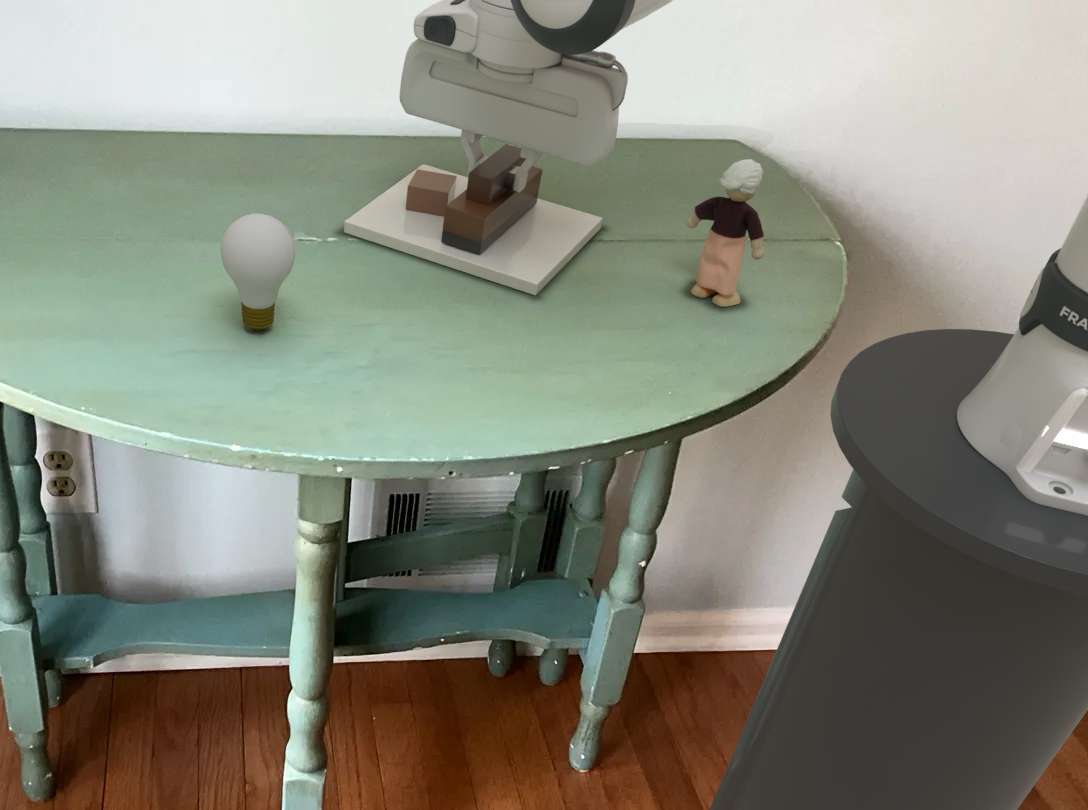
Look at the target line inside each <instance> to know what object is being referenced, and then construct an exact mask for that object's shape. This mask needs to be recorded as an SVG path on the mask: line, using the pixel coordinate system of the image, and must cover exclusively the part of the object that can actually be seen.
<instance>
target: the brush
mask: <svg viewBox="0 0 1088 810" xmlns="http://www.w3.org/2000/svg"><path fill="white" fill-rule="evenodd" d="M521 148H522V147H519V146H515V145H512V144H509V143H505V144H503V146H501V147H500V148H499V149H497V150H496V151H495V152H493V153H492V154H491V155H490V156H488V157H489V158H487V159H486V160H485V161H483V162H482V163H481V164H480V165H478V166H477V167H476V168H475V169H473V170H472V171H471V172H469V176H468V175H467V177H468V184H467V189H466V190H465V191H464V192H463V193H461V194H460V195H459V196H458V197H456V198H455V199H454V200H453V201H451V202H450V203H449V204H448V205H446V206H445V214H444V223H443V231H442V240H441V242H442V243H446V244H449V245H452V246H455V247H458V248H461V249H464V250H467V251H470V252H473V253H476V254H479V255H480V254H481V253H482V252H483V251H484V250H485V249H486V248H488V247H489V246H490V245H491V244H492V243H493V242H494V241H495V240H497V239H498V238H499V237H500V236H501V235H502V234H503V233H504V232H505V231H507V230H508V229H509V228H510V227H511V226H512V225H513V224H514V223H515V222H517V221H518V220H519V219H520V218H521V217H522V216H523V215H524V214H525V213H527V212H528V211H529V210H530V209H531V208H532V207H533V206H534V205H535V204H536V203H537V198H538V197H539V192H540V186H541V181H542V175H543V168H540V167H537V166H534V165H533V166H532V167H531V169H530V170H528V176H527V182H526V185H525V188H524V189H523V190H522V191H521V192H516V191H512V190H509V189H506V188H505V182H506V174H507V171H508V170H510V169H511V168H512V167H513V166H514V165H516V166H521V165H522V164H523V162H524V161H525V160H526V158H525V159H524V158H521V156H520V155H521ZM538 199H539V198H538Z"/></svg>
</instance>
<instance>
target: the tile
mask: <svg viewBox="0 0 1088 810" xmlns="http://www.w3.org/2000/svg"><path fill="white" fill-rule="evenodd" d="M417 169H419V170H425V171H430V172H436V173H442V174H448V175H454V176H457V179H456V188H455V196H454V199H455V198H456V197H458V196H459V195H460V194H461V193H463V192H464V191H465V190H466V189H467V184H468V176H464V175H461V174H458V173H454V172H451V171H449V170H448V171H447V170H444V169H442V168H438V167H434V166H431V165H428V164H426V163H423V164H421V165H420V166H418V167H417V168H416V169H414V170H412V172H410V173H409V174H407V175H406V176H405V177H403V178H402V179H400V180H399V181H398V182H396V183H395V184H393V185H392V186H391V187H389V188H388V189H387V190H385V191H383V193H381V194H379V196H377V197H376V198H374V199H373V200H372V201H370V202H369V203H367V204H366V205H364V206H363V207H362V208H360V209H359V210H357V212H355V213H353V214H352V215H350V216H349V217H348V218H347V219H345V220H344V223H343V233H344V234H348V235H351V236H353V237H357V238H360V239H362V240H365V241H369V242H372V243H374V244H378V245H381V246H384V247H386V248H390V249H393V250H396V251H399V252H402V253H405V254H408V255H411V256H414V257H417V258H420V259H422V260H423V259H424V260H427V261H429V262H432V263H435V264H438V265H442V266H444V267H448V268H450V269H454V270H457V271H460V272H463V273H466V274H469V275H472V276H475V277H478V278H481V279H483V280H487V281H490V282H493V283H496V284H499V285H502V286H505V287H508V288H511V289H514V290H518V291H520V292H523V293H527V294H529V295H531V296H537V295H538V294H539V293H540V291H542V290H543V289H544V287H546V285H547V284H548V283H549V282H551V280H552V279H553V278H554V277H555V276H556V275H558V273H559V272H560V271H561V270H562V269H564V267H565V266H566V265H567V264H568V263H569V262H570V261H571V260H572V259H573V258H574V257H575V256H576V255H577V254H578V253H579V252H580V251H581V250H582V249H583V247H585V245H586V244H587V243H588V242H589V241H590V240H591V239H592V238H593V237H594V236H595V235H596V234H597V233H599V231H600V230H601V229H602V225H603V221H604V220H603V219H604V218H603V217H601V216H598V215H594V214H591V213H588V212H584V211H582V210H578V209H574V208H571V207H568V206H564V205H562V204H559V203H555V202H551V201H549V200H545V199H541V198H537V203H536V204H535V205H534V206H533V207H532V208H531V209H530V210H529V211H528V212H527V213H525V214H524V215H523V216H522V217H521V218H520V219H519V220H518V221H517V222H515V223H514V224H513V225H512V226H511V227H510V228H509V229H508V230H507V231H505V232H504V233H503V234H502V235H501V236H500V237H499V238H498V239H497V240H495V241H494V242H493V243H492V244H491V245H490V246H489V247H488V248H486V249H485V250H484V251H483V252H482V253H481V254H480V255H479V254H476V253H473V252H470V251H467V250H464V249H461V248H458V247H455V246H452V245H449V244H446V243H442V242H441V240H442V231H443V223H444V217H443V216H438V215H432V214H426V213H421V212H415V211H410V210H406V199H407V188H408V185H409V183H410V181H411V179H412V177H413V176H414V174H415V172H416V170H417Z"/></svg>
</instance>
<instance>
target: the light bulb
mask: <svg viewBox="0 0 1088 810" xmlns="http://www.w3.org/2000/svg"><path fill="white" fill-rule="evenodd" d="M220 256H221V257H220V258H221V263H222V266H223V268H224V270H225V272H226V274H227V275H228V276H229V278H230V279H231V280H232V283H234V285H235V287H236V289H237V292H238V297H239V300H240V305H241V321H242V323H243V325H245V326H246V327H248V328H250V329H251V330H253V331H255V332H261V331H263V330H264V329H266V328H268V327H269V328H270V327H271V326H272V325H273V324H274V321H275V320H274V319H275V310H276V307H275V306H276V301H277V298H278V295H279V290H280V288H281V286H282V284H283V283H284V281H285V280H286V279H287V277H288V276H289V275H290V274H291V272H292V270H293V267H294V264H295V259H296V246H295V242H294V238H293V236H292V235H291V232H290V231H289V229H288V228H287V227H286V225H285V224H284V223H282V222H281V221H280V220H278V219H277V218H275V217H274V216H271V215H268V214H265V213H251V214H246V215H244V216H241V217H239V218H237V219H236V220H234V221H233V223H232V224H231V225H230V226H229V227H228V228H227V230H226V231H225V232H224V235H223V238H222V240H221V245H220Z"/></svg>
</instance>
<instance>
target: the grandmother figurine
mask: <svg viewBox="0 0 1088 810" xmlns="http://www.w3.org/2000/svg"><path fill="white" fill-rule="evenodd" d="M763 175H764V169H763V168H762V164H760V163H758V162H757V161H755V160H754V159H751V158H750V159H749V158H748V159H741V160H739V161H736V162H734V163H732V164H731V165H730V166H729V167H728V168H727V169H726V170H725V171H724V172H723V175H722V177H721V178H719V179H718V181H719V182H720V186H721V188H723V189H725V192H726V195H727V197H725V196H713V197H711V198H708V199H706V200H703V201H702V202H700V203H699V204H697V205H695V206H694V211H693V212H692V213H691V216H689V217H688V218H687V219H686V222H685V223H686V226H687V227H688V228H690V229H695V228H697V226H698V225H699V223H700V222H702V221H713V223H712V225H711V226H710V228H709V231H708V233H707V236H706V239H705V241H704V245H703V248H702V251H701V255H700V259H699V265H698V270H697V274H696V281H695V282H696V283H695V284H694V286H693V287H692V288H691V290H690V294H691V295H693V296H694V297H697V298H702V299H704V298H708V297H710V296H711V295H714V294H715V293H716V292H717V294H716V295H714V296H713V297H712V299H711V302H712V303H713V304H714V305H716V306H718V307H721V308H724V307H731V306H737V305H739V304H740V303H741V299H742V298H741V295H740V294H739V292H738V291H737V290H736V288H737V284H738V281H739V276H740V271H741V266H742V262H743V258H744V254H745V249H746V237H747V236H746V235H747V234H748V238H749V241H750V247H751V253H750V255H751V257H752V259H754V260H758V261H759V260H761V259H762V258H764V255H765V252H764V249H763V248H764V236H765V233H764V230H763V227H762V222H761V219H760V217H759V213H758V212H757V211H756V209H755V208H754V207H752V205H750V204H749V203H747V201H749V200H751V199H752V198H754V196H755V194H756V192H757V190H758V188H759V186H760V184H761V182H762V181H763V178H762V177H763Z"/></svg>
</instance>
